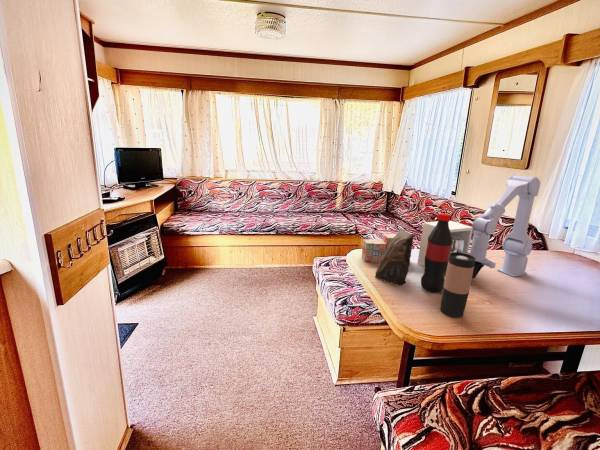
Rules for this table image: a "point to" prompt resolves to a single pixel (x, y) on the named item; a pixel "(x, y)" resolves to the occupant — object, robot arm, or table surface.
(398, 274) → the owl
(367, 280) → the table surface
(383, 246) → the stack of blocks
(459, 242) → the metal cup
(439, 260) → the cola bottle
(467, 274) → the travel mug
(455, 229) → the tall white box
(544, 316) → the table surface
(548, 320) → the table surface
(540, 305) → the table surface
